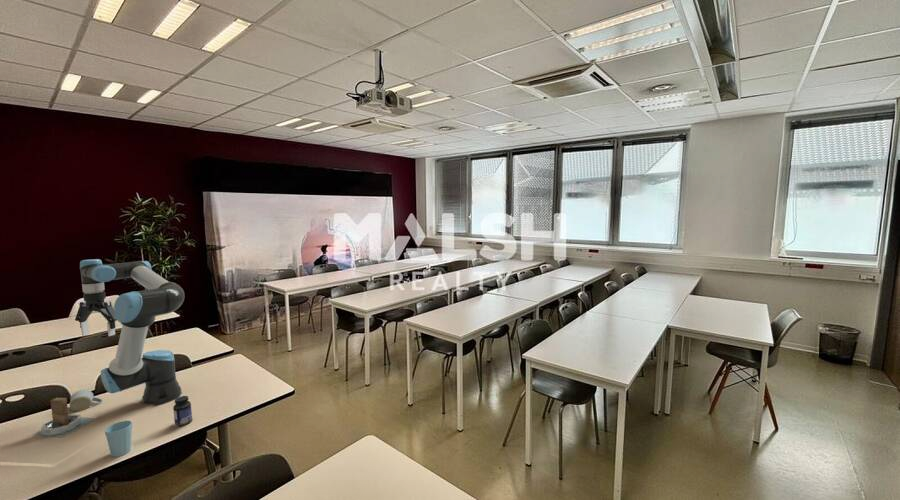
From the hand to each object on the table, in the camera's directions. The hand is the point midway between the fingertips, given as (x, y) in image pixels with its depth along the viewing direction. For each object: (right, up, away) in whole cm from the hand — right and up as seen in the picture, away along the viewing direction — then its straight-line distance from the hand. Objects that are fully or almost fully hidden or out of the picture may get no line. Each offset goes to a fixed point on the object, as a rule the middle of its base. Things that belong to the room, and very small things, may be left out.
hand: (98, 335), depth 176 cm
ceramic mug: (-1, -33, -5) cm, 33 cm away
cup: (+45, -36, -38) cm, 69 cm away
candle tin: (+7, -33, -23) cm, 41 cm away
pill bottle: (+55, -34, -19) cm, 67 cm away
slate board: (+8, -34, -22) cm, 41 cm away
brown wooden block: (+7, -33, -24) cm, 41 cm away
